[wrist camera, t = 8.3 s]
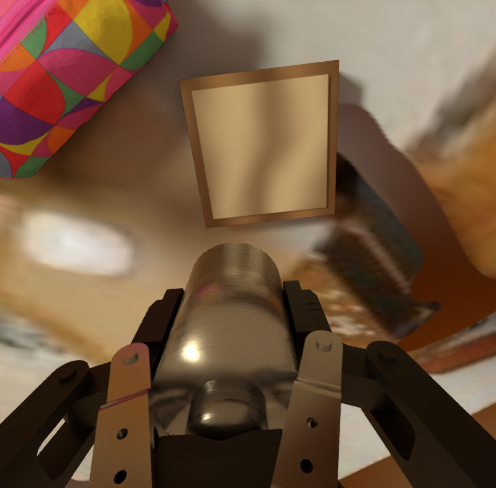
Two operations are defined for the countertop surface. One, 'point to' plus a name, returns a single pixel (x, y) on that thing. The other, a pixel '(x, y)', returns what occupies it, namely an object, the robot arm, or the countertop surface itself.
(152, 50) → the pencil case
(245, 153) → the tray
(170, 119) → the countertop surface
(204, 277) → the weight
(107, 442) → the robot arm
